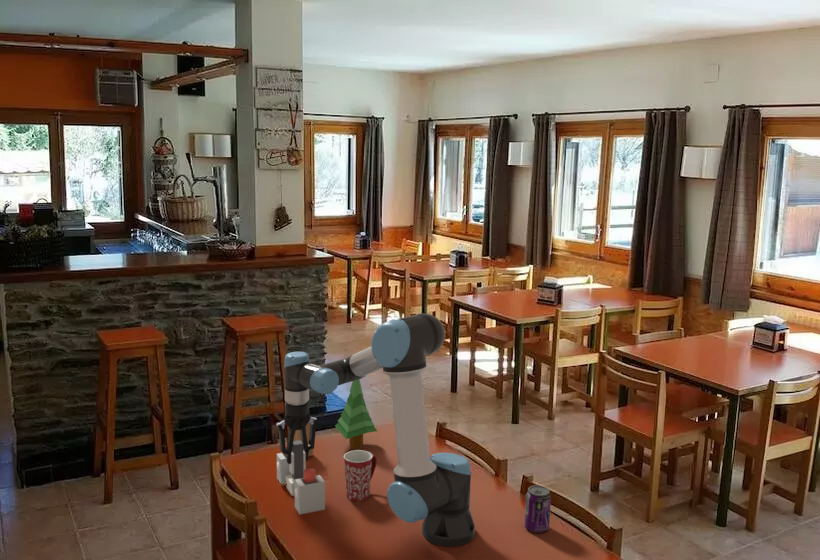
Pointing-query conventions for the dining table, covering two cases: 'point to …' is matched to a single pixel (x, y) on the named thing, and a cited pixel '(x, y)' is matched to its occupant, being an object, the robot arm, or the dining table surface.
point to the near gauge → (309, 475)
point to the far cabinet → (282, 468)
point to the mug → (359, 474)
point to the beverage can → (537, 508)
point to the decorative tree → (355, 417)
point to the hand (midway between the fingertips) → (297, 471)
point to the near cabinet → (309, 495)
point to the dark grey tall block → (296, 466)
